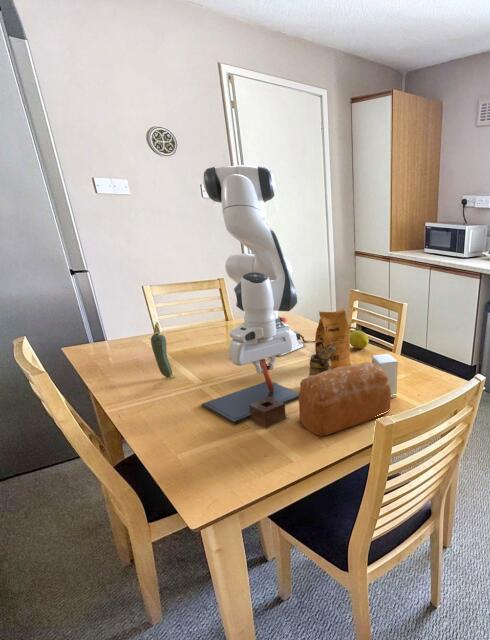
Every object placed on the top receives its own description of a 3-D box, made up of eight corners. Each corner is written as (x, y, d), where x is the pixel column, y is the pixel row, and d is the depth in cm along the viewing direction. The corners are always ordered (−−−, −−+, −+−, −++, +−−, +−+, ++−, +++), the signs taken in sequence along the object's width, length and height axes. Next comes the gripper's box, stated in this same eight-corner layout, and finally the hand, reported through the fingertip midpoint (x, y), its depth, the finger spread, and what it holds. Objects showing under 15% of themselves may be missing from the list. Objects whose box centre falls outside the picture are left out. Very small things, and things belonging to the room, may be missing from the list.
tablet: (269, 383, 142) (269, 380, 142) (301, 397, 134) (301, 394, 133) (202, 406, 124) (201, 403, 124) (234, 424, 116) (234, 421, 115)
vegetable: (167, 381, 139) (154, 324, 131) (156, 380, 140) (143, 323, 131) (176, 377, 143) (165, 321, 135) (165, 375, 144) (153, 320, 135)
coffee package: (313, 363, 161) (310, 309, 152) (341, 358, 168) (340, 305, 159) (323, 372, 154) (321, 315, 145) (352, 366, 161) (352, 311, 152)
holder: (271, 411, 124) (269, 396, 122) (286, 418, 120) (284, 403, 118) (250, 419, 118) (248, 404, 116) (265, 427, 115) (264, 412, 113)
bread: (394, 413, 127) (396, 366, 121) (320, 440, 110) (317, 388, 104) (368, 397, 136) (368, 353, 130) (295, 420, 119) (292, 371, 113)
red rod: (272, 389, 135) (260, 352, 128) (276, 391, 134) (263, 353, 127) (268, 392, 134) (255, 354, 127) (271, 393, 133) (258, 355, 126)
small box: (396, 397, 137) (398, 361, 132) (379, 400, 135) (380, 363, 129) (387, 387, 144) (388, 353, 139) (370, 390, 141) (371, 355, 136)
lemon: (372, 350, 180) (372, 332, 177) (357, 353, 175) (357, 335, 172) (359, 343, 187) (359, 326, 184) (344, 346, 183) (344, 329, 179)
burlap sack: (318, 399, 133) (316, 347, 126) (303, 384, 143) (300, 335, 136) (343, 393, 138) (342, 343, 130) (327, 379, 148) (325, 332, 140)
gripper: (282, 320, 133) (285, 360, 139) (223, 333, 117) (230, 377, 123) (295, 324, 130) (297, 364, 135) (236, 337, 114) (242, 382, 120)
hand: (265, 370), depth 129 cm, fingers closed on red rod, 2 cm apart
